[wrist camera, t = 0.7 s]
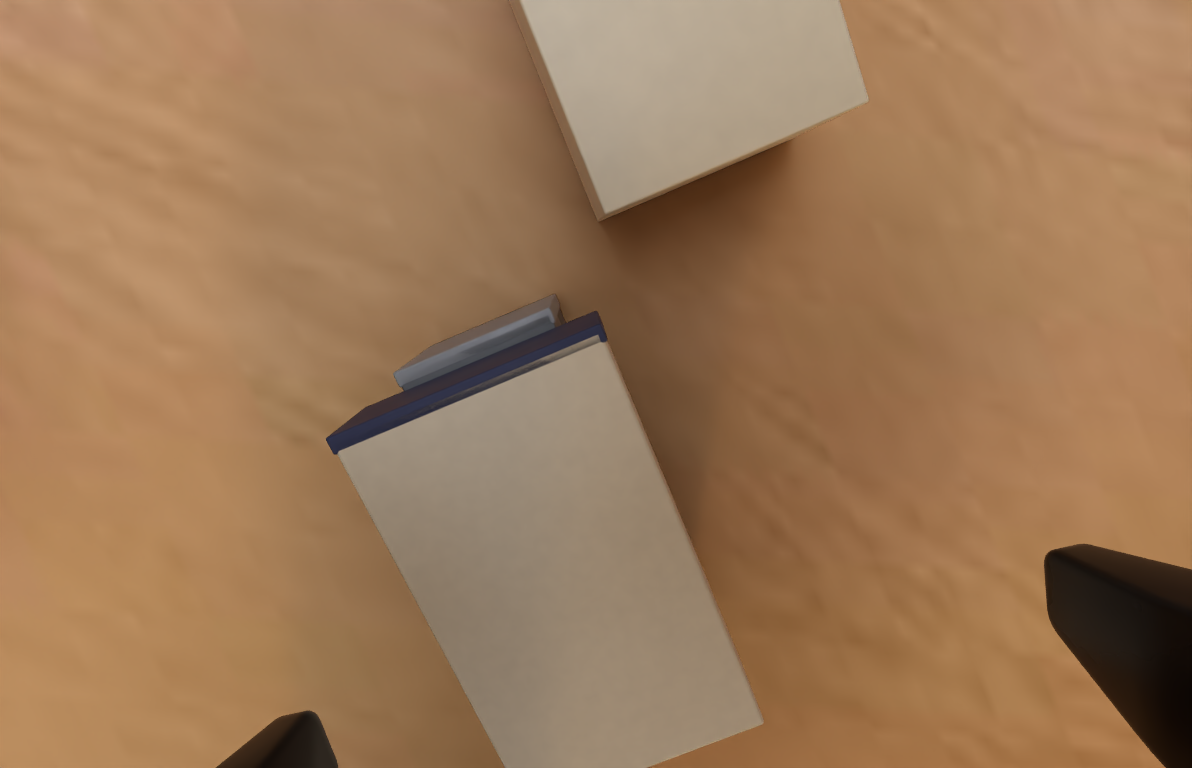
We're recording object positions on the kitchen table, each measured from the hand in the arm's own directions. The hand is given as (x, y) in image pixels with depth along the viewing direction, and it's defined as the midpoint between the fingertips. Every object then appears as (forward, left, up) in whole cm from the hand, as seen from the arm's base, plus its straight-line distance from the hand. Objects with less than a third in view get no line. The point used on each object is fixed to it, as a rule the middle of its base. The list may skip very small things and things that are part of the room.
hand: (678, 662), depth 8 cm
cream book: (-2, -2, -8) cm, 9 cm away
